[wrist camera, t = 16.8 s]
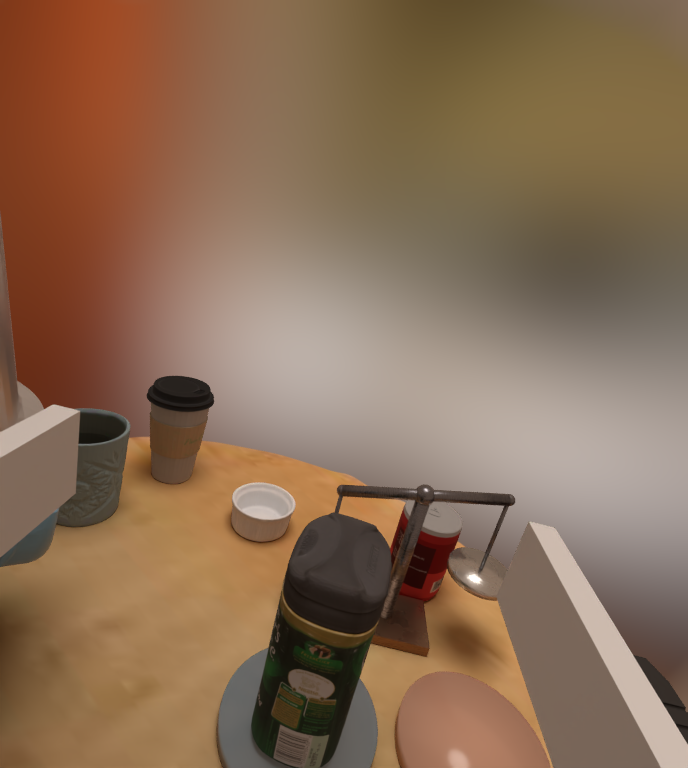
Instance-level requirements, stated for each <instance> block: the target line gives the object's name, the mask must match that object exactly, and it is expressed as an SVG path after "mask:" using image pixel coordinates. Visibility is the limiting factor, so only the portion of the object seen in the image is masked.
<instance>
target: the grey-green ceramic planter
mask: <svg viewBox="0 0 688 768" xmlns="http://www.w3.org/2000/svg"><path fill="white" fill-rule="evenodd" d="M74 410H78V411H80V424H79V442H78V460H77V478H76V494H74V495H73V496H72V497H71V498H70V499H68V500H67V501H66V502H65V503H64V504H63V505H61V506H60V507H59V512H58V518H57V523H56V524H59V525H64V526H70V527H82V526H89V525H93V524H97V523H99V522H102V521H104V520H106V519H107V518H109V517H110V516H111V515H112V514H113V513H114V512H115V510H116V509H117V507H118V502H119V495H120V489H121V484H122V478H123V476H122V473H123V470H124V465H125V459H126V452H127V445H128V439H129V433H130V423H129V421H128V420H127V419H125V418H124V417H123V416H121V415H119V414H116V413H114V412H110V411H105V410H99V409H74Z"/></svg>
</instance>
